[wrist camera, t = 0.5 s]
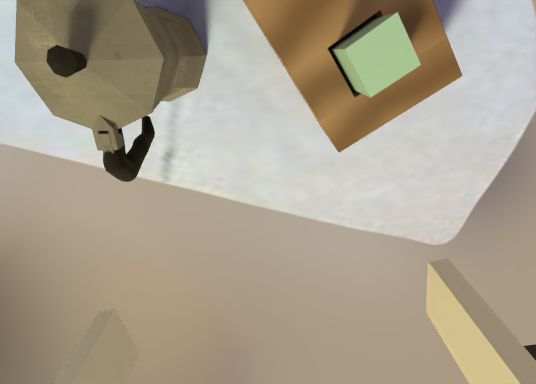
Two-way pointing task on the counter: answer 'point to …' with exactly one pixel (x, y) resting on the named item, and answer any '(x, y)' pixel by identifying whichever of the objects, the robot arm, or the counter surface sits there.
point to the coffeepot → (107, 67)
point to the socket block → (327, 72)
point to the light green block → (375, 55)
